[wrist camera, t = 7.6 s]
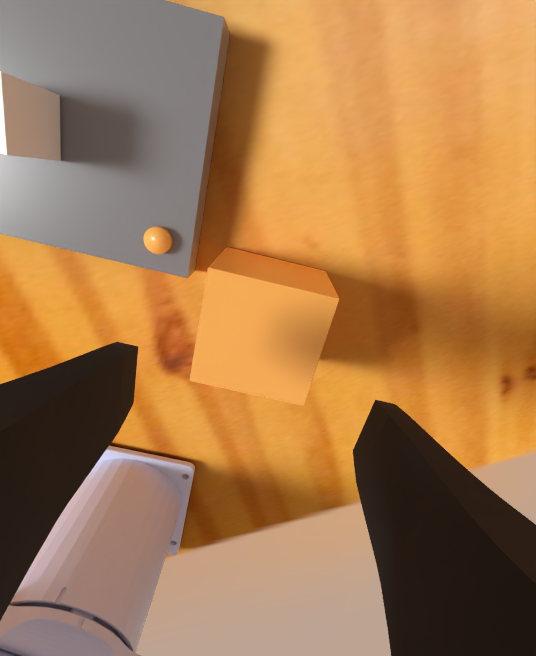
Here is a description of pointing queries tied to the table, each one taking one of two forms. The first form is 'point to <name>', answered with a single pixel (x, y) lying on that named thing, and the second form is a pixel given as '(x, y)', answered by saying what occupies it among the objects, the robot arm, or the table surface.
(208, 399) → the table surface
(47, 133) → the block
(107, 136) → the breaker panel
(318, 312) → the orange cube
